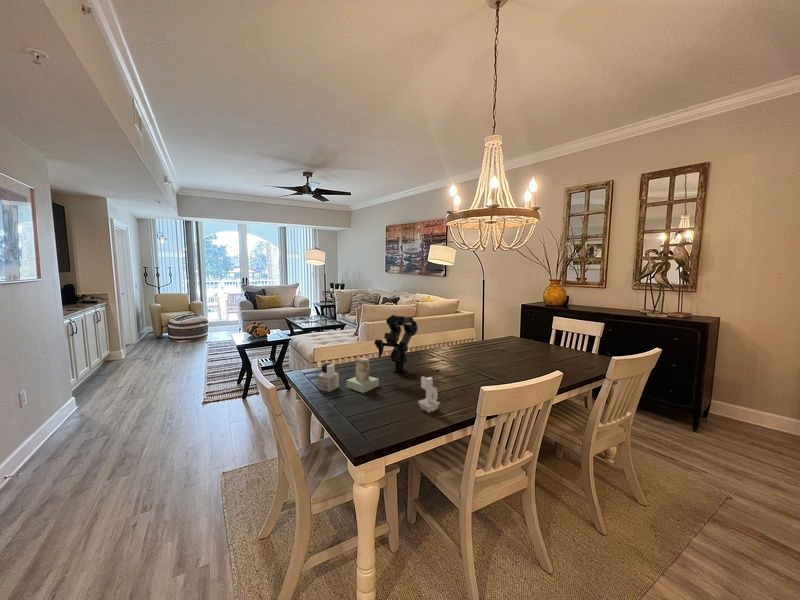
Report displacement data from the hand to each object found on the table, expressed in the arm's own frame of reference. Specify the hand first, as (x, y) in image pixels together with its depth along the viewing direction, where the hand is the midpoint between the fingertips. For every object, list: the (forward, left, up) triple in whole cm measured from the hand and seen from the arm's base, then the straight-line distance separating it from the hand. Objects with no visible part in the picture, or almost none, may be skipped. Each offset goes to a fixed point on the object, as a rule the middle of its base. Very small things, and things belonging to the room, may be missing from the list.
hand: (387, 358), depth 182 cm
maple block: (+11, -10, -9) cm, 17 cm away
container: (+19, -26, -14) cm, 35 cm away
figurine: (+25, +30, -14) cm, 41 cm away
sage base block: (+11, -10, -13) cm, 20 cm away
